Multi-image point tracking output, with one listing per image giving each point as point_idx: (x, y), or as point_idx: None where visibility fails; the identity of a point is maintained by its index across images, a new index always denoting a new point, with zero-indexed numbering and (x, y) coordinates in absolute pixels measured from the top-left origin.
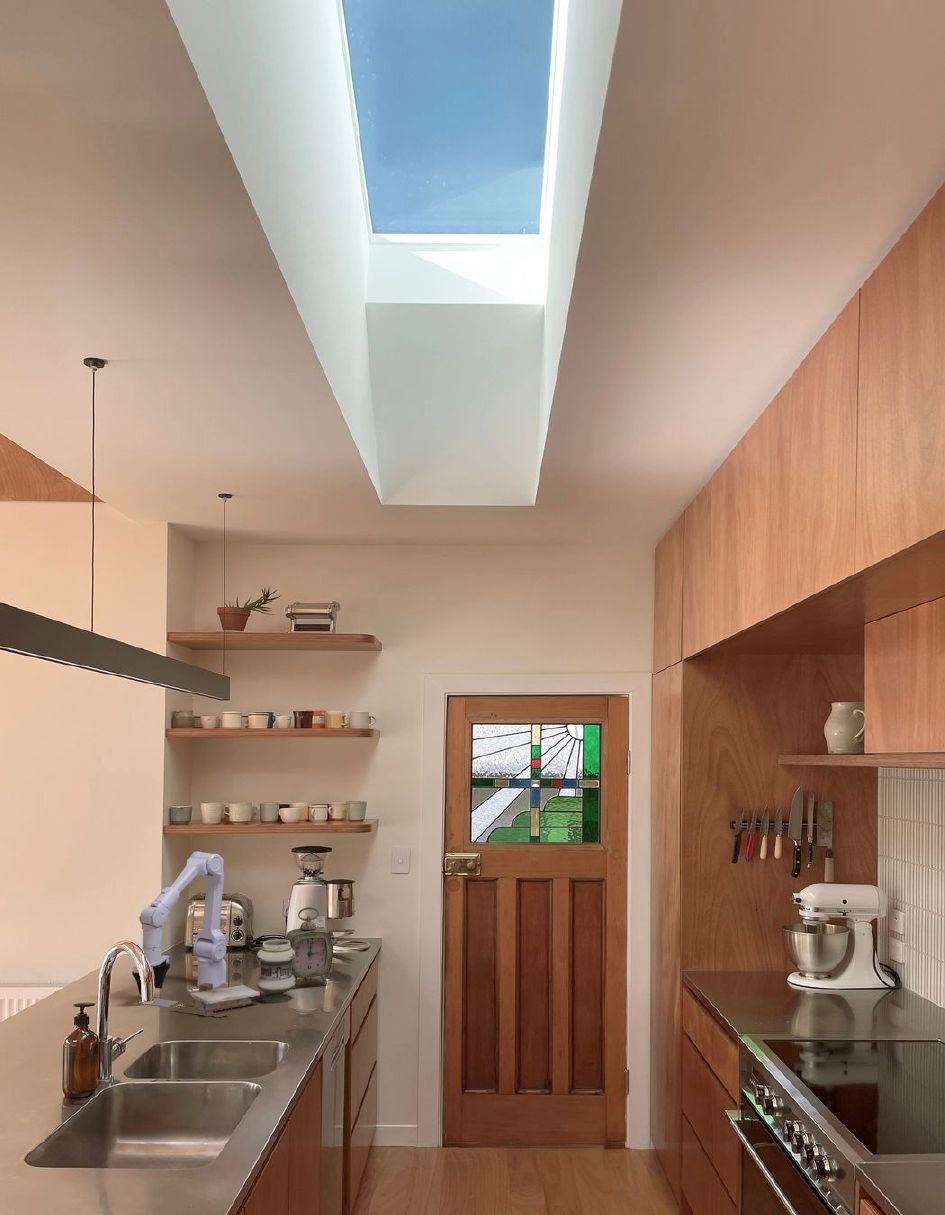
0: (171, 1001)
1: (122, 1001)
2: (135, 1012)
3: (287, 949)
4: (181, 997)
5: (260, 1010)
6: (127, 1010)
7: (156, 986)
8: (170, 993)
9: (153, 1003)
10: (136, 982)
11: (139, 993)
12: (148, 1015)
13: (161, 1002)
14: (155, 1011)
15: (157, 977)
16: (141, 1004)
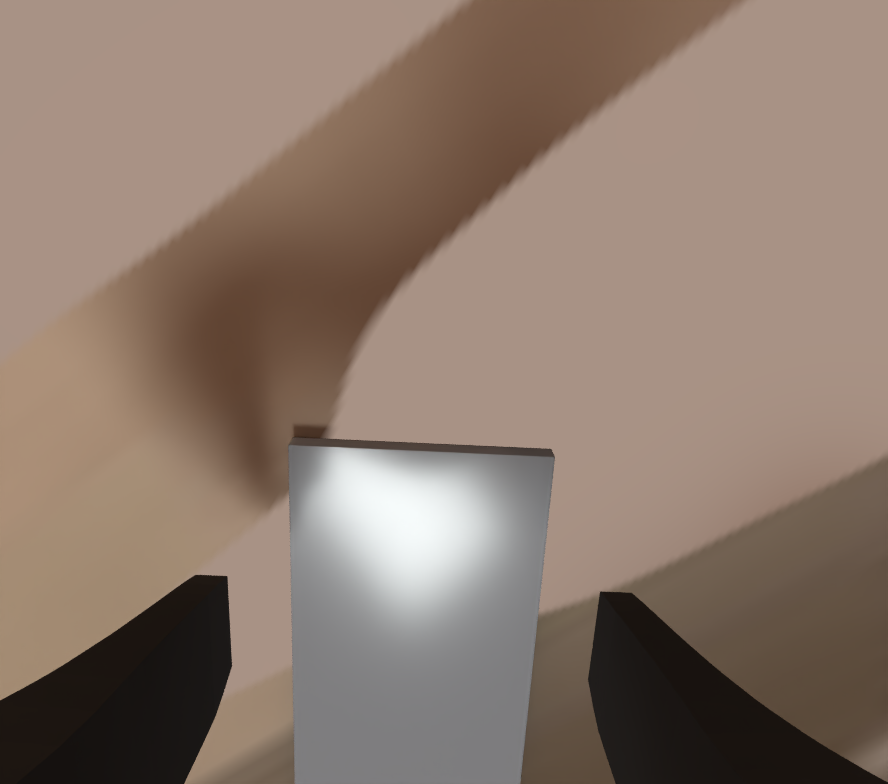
0: (487, 764)
1: (332, 150)
2: (24, 600)
3: None
4: None
5: None
6: (35, 472)
7: (602, 630)
8: (863, 533)
9: (343, 636)
10: (21, 691)
11: (184, 586)
12: None
13: (413, 692)
14: None
15: (663, 756)
16: (291, 501)
